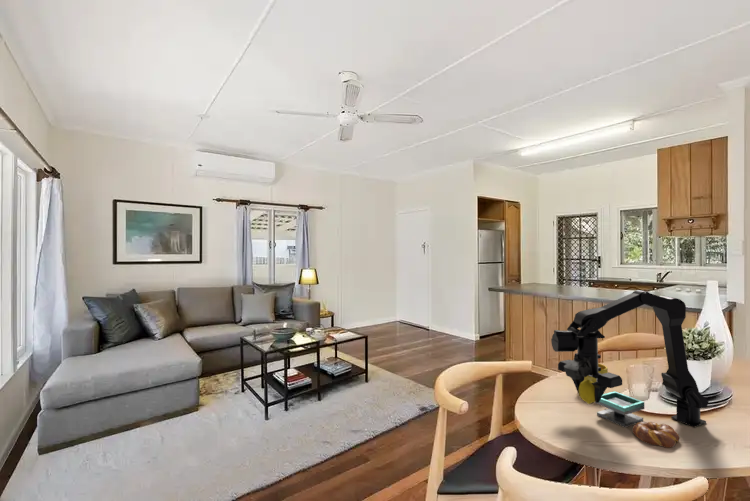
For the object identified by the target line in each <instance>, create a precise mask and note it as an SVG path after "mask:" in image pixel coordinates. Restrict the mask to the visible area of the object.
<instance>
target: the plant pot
mask: <svg viewBox="0 0 750 501" xmlns="http://www.w3.org/2000/svg"><path fill="white" fill-rule="evenodd" d="M598 367H600V368H601V371H598V373H601V374H604V373H608V371H609V370H608V367H607V366H606V365H605V364H602V363H599V362H598ZM587 379H588V380H590V381H592V382H593V383H594V382H596V378H593V377H590V376H587V377H584V381H585V380H587Z"/></svg>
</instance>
